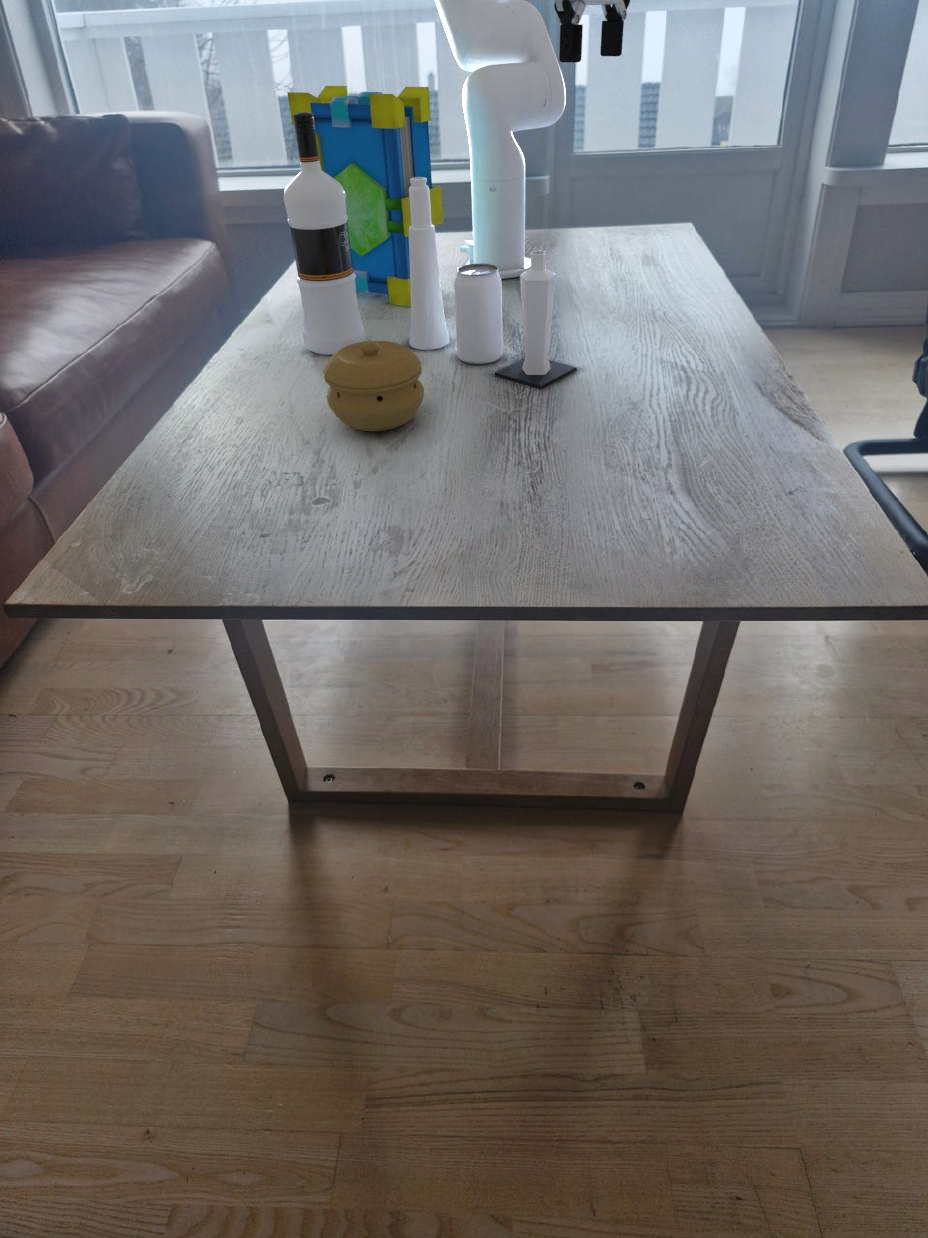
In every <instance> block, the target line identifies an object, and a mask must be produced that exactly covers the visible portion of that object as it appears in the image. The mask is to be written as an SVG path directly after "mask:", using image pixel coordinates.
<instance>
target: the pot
mask: <svg viewBox="0 0 928 1238" xmlns="http://www.w3.org/2000/svg"><path fill="white" fill-rule="evenodd" d="M422 373H423V367H422V362H421V360H420V359H419V357H418V356H417V355H416V354H415V352H413V351H412V349H411V350H410V348H408V347H407V346H405V345H404V344H401V343H398V342H395V341H389V340H371V339H370V340H369V339H368V340H365V341H364V342H358V343H354V344H351V345H348V346H345V347H343V348H341V349H340V350H338V351H337V352H336V353H335V354H334V355H331V357H329V359H328V360H327V362H326V363H325V366H324V369H323V379H324V382H325V383H326V384H327V385H328V386H329V388H328V390H327V394H326V401H327V404H328V406H329V408H330V410H331V411H332V413H333V414H334V415H335V416H336V418H338V419H339V420H340V421H341V422H342V423H343V424H344V425H346V426H348V427H349V428H352V429H354V430H357V431H364V432H382V431H388V430H392V429H396V428H398V427H401V426H403V425H405V424H406V423H407V422H409V421H411V419H413V417H414V416H416V413H417V412H418V410H419V408H420V406H421V404H422V402H423V399H424V396H425V388H424V386H423V384H422V382H421V381H420V379H419V378H420V376H421V374H422Z"/></svg>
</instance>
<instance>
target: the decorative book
mask: <svg viewBox="0 0 928 1238" xmlns="http://www.w3.org/2000/svg"><path fill="white" fill-rule="evenodd" d="M286 94H287V99H288V105H289V106H288V107H289V113H290V119H291V125H292V126H294V118H293V115H294V114H296V113H299V112H310V113H312V114H313V118H314V119H313V121H314V126H315V134H316V141H317V148H318V155H319V161H320V166H321V170H322V171H324V172H325V173H327V174H328V175H330V176H331V177H332V178H334V179H335V180H337V181H338V182H339V183H340V184H341V185H342V187H343V189H344V191H345V194H346V199H345V201H346V212H347V216H348V228H349V237H350V245H351V253H352V261H353V270H354V271H353V272H354V273H355V275H356V278H355V285H356V293H365V294H370V295H372V294H381V295H387V296H388V304H390V305H397V306H404V307H408V308H409V307H410V308H411V285H410V259H409V227H410V226H411V213H410V199H409V187H410V186H411V183H410V179H411V178H414V177H425V178H427V182H426V185H427V186H428V187H429V192H430V208H431V224H432V225H434V226H435V227H437V226H439V225H441V224H444V209H443V207H444V205H443V189H442V185H438V186H435V187H433V181H432V179H433V178H432V165H431V164H432V163H431V162H432V161H431V145H430V132H429V131H430V130H429V129H430V128H429V121H431V120H432V119H431V117H432V116H431V103H430V100H431V99H430V87H429V86H405V87H404V88H403V89H402V90H401V91H400V93H399V94H398V95H394V94H393V93H383V92H382V91H361V92H360V93H359V94H358V95H348V86H347V85H325V86H324V88H323V89H322V90H321V91H320V93H319V94H318V95H317V96H315V95H313V94H311V93H310V92H299V91H298V92H296V91H289V92H288V91H287V93H286Z"/></svg>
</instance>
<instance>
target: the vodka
mask: <svg viewBox="0 0 928 1238" xmlns="http://www.w3.org/2000/svg"><path fill="white" fill-rule="evenodd" d="M293 118H294V125H293V126H294V132H295V138H296V145H297V150H298V151H297V152H298V158H299V165H300V172H298V174H297V175H296V176H295V177H293V179H292V180H291V181H290V183H289V184H287V186H286V187H285V189H284V193H283V203H284V208H285V211H286V215H287V219H286V221H287V224H288V225H289V227H290V235H291V241H292V242H291V243H292V247H293V254H294V259H295V266H296V271H297V278H296V283H297V284H298V289H299V292H300V298H301V307H302V308H301V309H302V320H303V331H302V336H303V343H304V346H305V347H306V348H307V349H308V351H310V352H313V353H314V354H317V355H323V356H333V355H334V354H335V353H336V352H337V351H338V350H340V349H341V348H343V347H345V346H348V345H351V344H354V343H358V342H364V341H366V339H367V333H366V327H365V325H364V323H363V320H362V315H361V311H360V306H359V300H358V294H357V292H356V285H355V278H356V275H355V273H354V272H353V271H354V270H353V261H352V253H351V245H350V237H349V228H348V216H347V212H346V201H345V199H346V194H345V191H344V189H343V187H342V185H341V184H340V183H339V182H338V181H337V180H335V179H334V178H332V177H331V176H330V175H328V174H327V173H325V172H324V171H322V170H321V166H320V161H319V155H318V148H317V141H316V134H315V126H314V121H313V119H314V118H313V114H312V113H310V112H299V113H296V114H294V115H293Z"/></svg>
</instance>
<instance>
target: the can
mask: <svg viewBox="0 0 928 1238" xmlns="http://www.w3.org/2000/svg"><path fill="white" fill-rule="evenodd" d="M502 284H503V283H502V279H501V278H500V275H499V273H498V267H497V266H495V265H492V264H484V263H477V264H468V265H466V264H464V265H461V266H459V267H457V269H456V276H455V278H454V285H453V288H454V308H455V309H454V311H455V313H454V314H455V330H456V331H455V332H456V351H457V357H458V359H459V360H460V361H461V362H463V363H465V364H468V365H475V366H479V365H481V366H482V365H488V364H493V363H495V362H497V361H499V360H500V359H501V357H502V356H503V285H502Z"/></svg>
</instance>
